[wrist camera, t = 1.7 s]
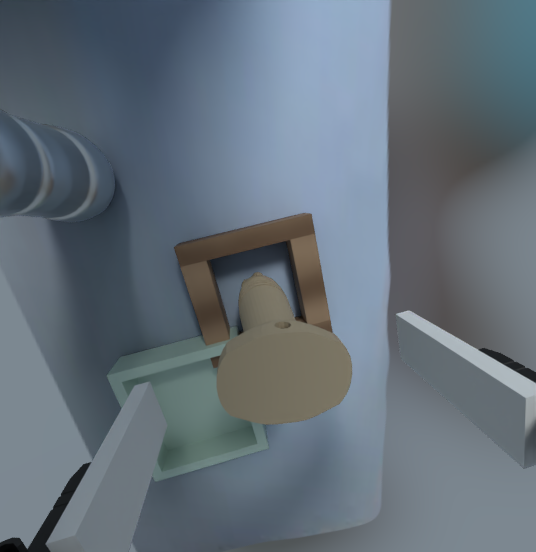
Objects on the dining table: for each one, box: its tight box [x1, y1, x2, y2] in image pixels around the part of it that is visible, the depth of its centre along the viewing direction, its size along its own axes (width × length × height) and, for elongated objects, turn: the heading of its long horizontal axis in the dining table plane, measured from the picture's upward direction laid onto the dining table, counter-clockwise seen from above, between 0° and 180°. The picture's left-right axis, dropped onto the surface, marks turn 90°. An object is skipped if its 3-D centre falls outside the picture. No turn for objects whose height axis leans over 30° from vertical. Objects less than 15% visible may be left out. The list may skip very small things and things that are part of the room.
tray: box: [106, 326, 269, 482], centre depth 28 cm, size 13×12×3 cm
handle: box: [216, 272, 352, 425], centre depth 20 cm, size 5×6×15 cm
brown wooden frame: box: [174, 213, 333, 368], centre depth 26 cm, size 12×12×2 cm
